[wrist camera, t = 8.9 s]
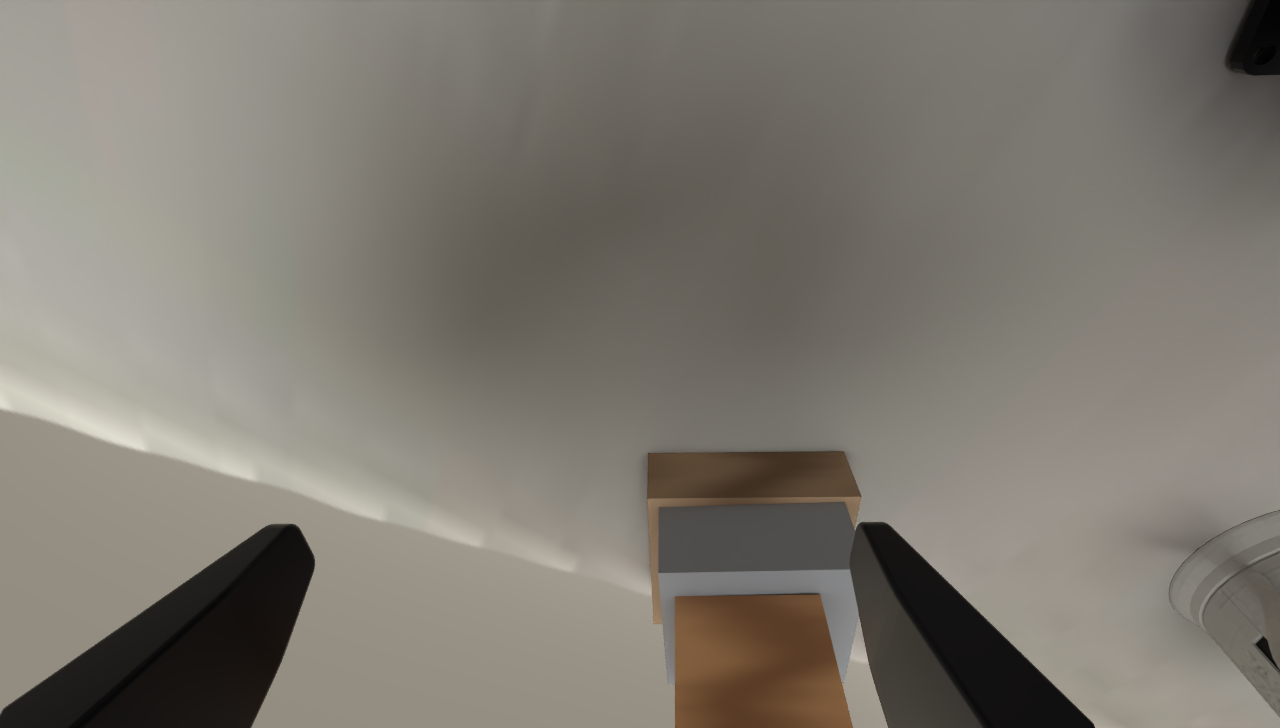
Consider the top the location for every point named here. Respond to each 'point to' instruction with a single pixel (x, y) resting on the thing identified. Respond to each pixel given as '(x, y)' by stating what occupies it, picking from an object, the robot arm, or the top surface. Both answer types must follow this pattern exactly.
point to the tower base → (743, 486)
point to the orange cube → (756, 663)
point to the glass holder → (1238, 599)
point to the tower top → (759, 561)
